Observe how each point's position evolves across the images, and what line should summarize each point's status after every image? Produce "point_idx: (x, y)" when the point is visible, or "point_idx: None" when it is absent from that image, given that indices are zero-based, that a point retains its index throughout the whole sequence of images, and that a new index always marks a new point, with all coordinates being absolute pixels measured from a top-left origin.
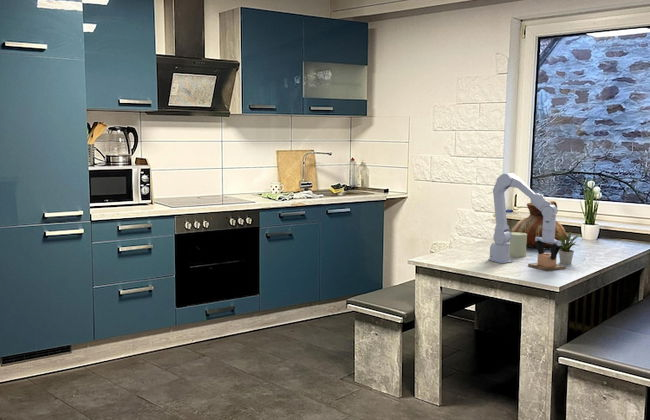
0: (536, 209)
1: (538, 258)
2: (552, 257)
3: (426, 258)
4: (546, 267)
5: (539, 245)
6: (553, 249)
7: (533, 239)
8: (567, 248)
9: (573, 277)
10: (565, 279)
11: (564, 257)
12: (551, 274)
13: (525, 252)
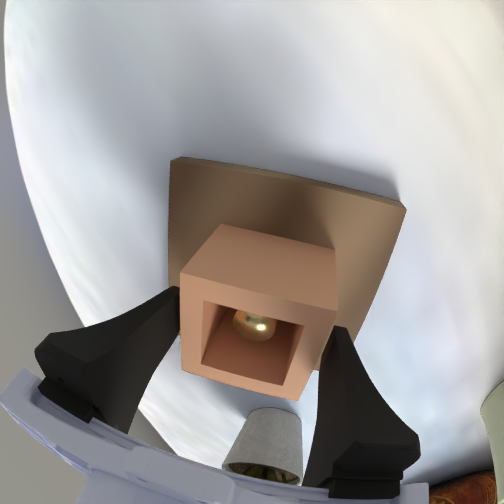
0: None
1: (326, 279)
2: (156, 295)
3: None
4: (205, 197)
5: (340, 428)
6: (74, 330)
7: (465, 496)
8: None
9: (31, 162)
10: (24, 89)
11: (256, 435)
12: (105, 101)
13: (487, 420)
